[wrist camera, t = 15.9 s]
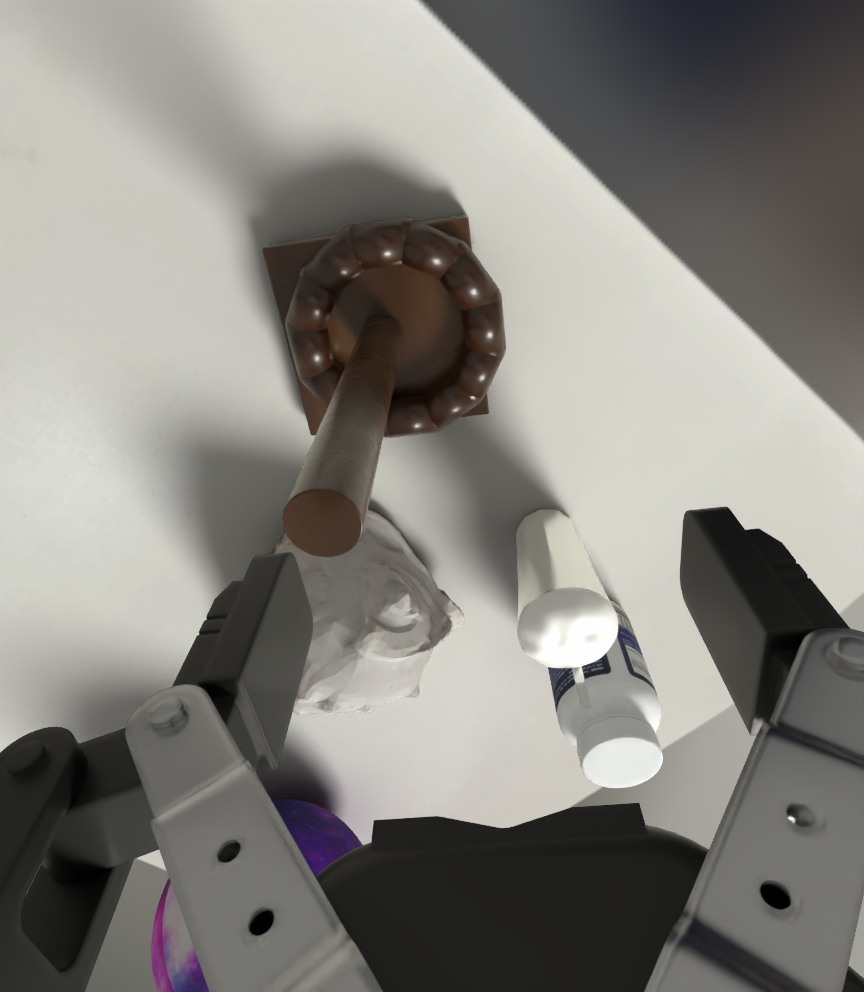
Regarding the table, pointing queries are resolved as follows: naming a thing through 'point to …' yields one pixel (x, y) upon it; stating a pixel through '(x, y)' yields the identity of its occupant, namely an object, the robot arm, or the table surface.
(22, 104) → the table surface
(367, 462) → the stand
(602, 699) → the pill bottle
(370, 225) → the ring
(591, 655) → the milkshake
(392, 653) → the seashell
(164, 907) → the decorative orb
